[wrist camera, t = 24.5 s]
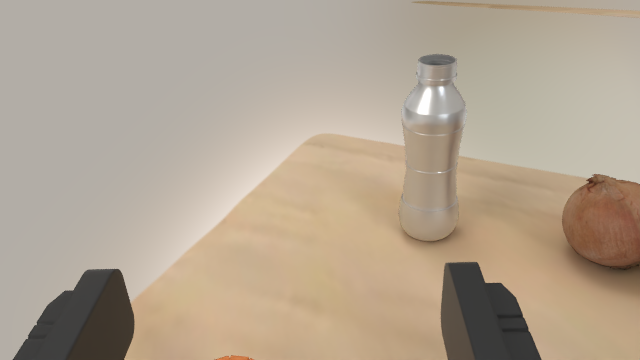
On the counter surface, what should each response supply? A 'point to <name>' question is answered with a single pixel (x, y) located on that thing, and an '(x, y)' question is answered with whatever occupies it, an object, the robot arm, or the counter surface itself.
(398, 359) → the counter surface
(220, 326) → the counter surface
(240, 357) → the orange grooved tube
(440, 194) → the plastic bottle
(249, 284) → the counter surface
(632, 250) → the onion
